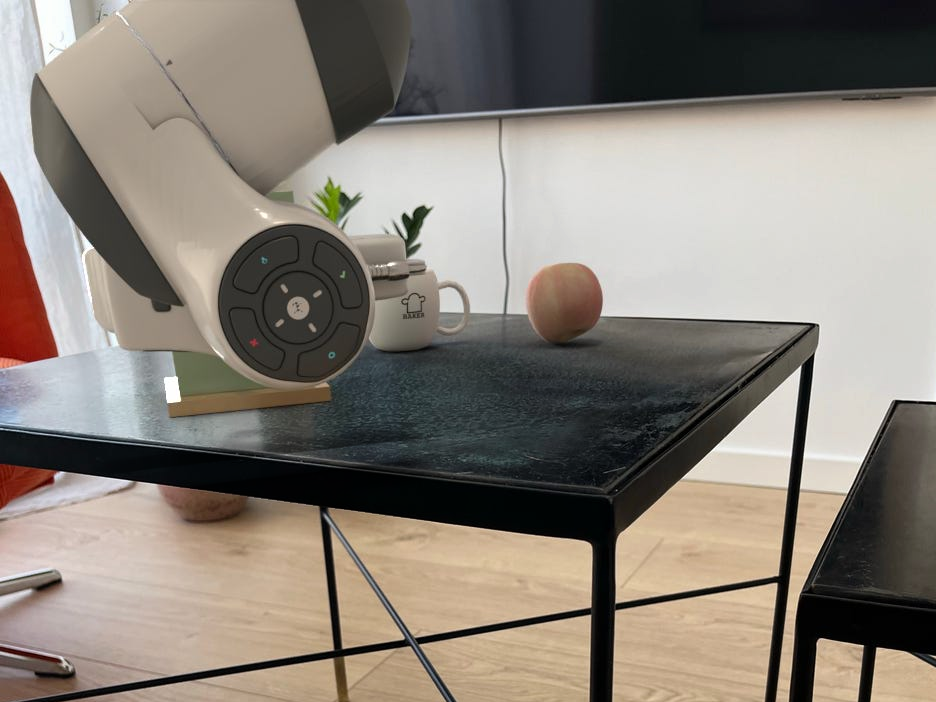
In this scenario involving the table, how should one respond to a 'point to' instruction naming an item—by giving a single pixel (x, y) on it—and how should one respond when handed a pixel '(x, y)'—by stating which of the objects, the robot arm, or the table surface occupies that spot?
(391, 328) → the mug
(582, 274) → the apple
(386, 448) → the table surface
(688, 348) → the table surface
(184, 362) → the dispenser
